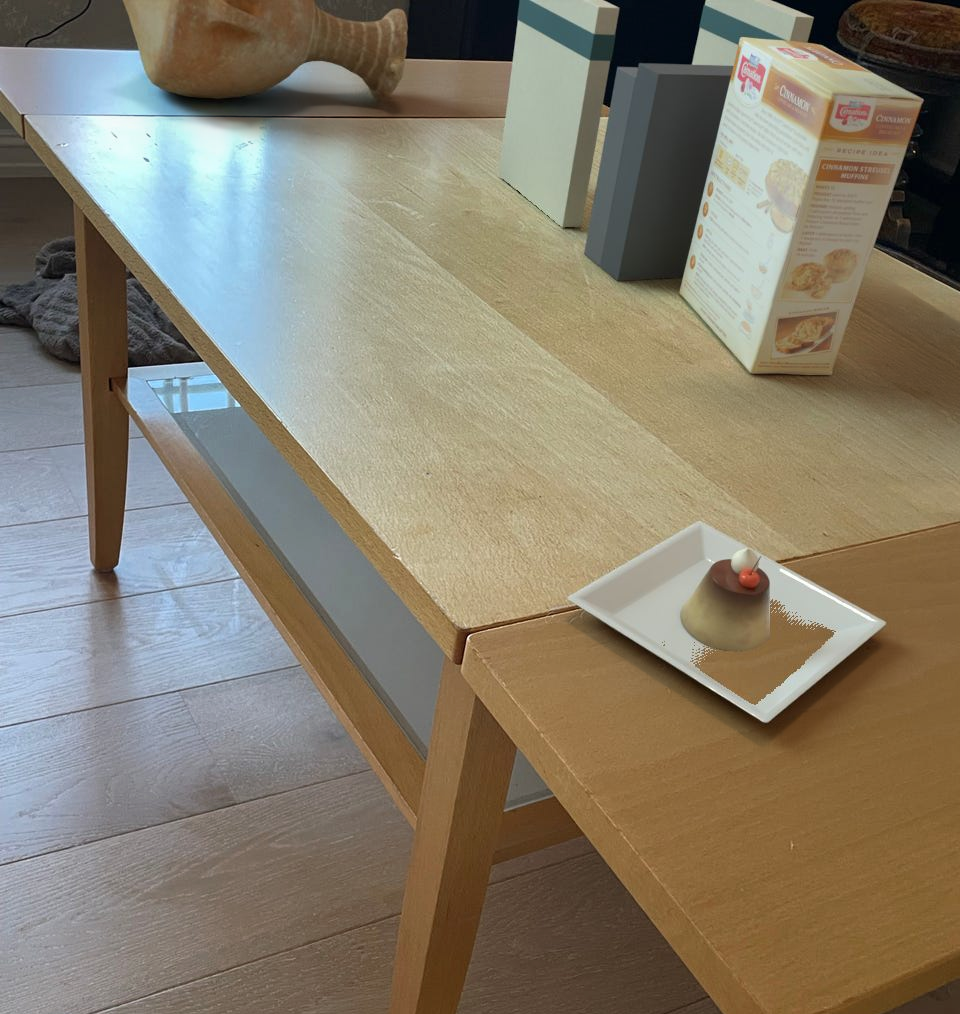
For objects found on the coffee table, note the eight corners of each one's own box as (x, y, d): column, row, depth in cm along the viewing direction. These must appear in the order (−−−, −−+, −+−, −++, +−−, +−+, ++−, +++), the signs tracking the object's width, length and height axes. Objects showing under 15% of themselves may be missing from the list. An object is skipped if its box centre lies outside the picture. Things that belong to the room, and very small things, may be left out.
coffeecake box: (834, 376, 86) (929, 98, 74) (747, 376, 85) (830, 90, 73) (753, 295, 98) (824, 41, 86) (675, 293, 96) (736, 33, 84)
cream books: (684, 173, 123) (726, -18, 112) (760, 221, 113) (815, 17, 102) (497, 176, 114) (523, -31, 103) (562, 228, 105) (598, 6, 94)
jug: (94, -63, 123) (359, -11, 137) (105, 118, 124) (368, 152, 137) (125, -179, 105) (427, -106, 119) (138, 33, 106) (436, 82, 119)
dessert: (759, 741, 53) (789, 661, 50) (562, 614, 59) (578, 536, 56) (880, 639, 61) (912, 564, 58) (694, 536, 67) (715, 463, 64)
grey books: (698, 248, 105) (744, 56, 95) (735, 274, 101) (787, 76, 91) (583, 253, 100) (619, 52, 90) (617, 281, 96) (658, 73, 86)
